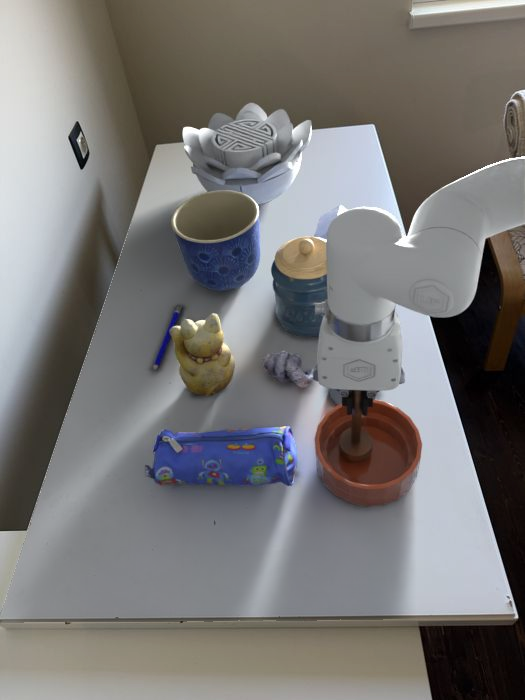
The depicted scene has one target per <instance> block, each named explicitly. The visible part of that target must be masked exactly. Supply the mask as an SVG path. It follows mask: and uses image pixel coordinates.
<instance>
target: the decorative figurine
mask: <svg viewBox="0 0 525 700" xmlns="http://www.w3.org/2000/svg"><path fill="white" fill-rule="evenodd" d="M169 332H170V334H171V336H170V337H171V338H172V341H173V345H174V354H175V358H176V360H177V362H178V364H179V368H178V373H179V376H180V379H181V380H182V382H183V384H184V385H185V386H186V388H187V389H188V391H190V392H191V393H193V394H195V395H199V396H200V395H201V396H206V397H212V396H213V395H214V394H216V393H218V392H220V391H222V390H224V389H225V388H227V386H228V385H229V384H230V382H231V381H232V378H233V375H234V372H235V367H236V364H235V363H236V362H235V358H234V356H233V354H232V352H231V349H230V348H229V346H228V345H227V344H226V343H224V337H225V336H224V332H223V329H222V325H221V320H220V317H219V315H218V314H217V313H214V312H213V313H210V314H209V315H208V316H206V318H205V320H204V319H200V320H197V321H195V322H194V321H193V320H192V319H187V318H186V319H183V320H182V321H181V322H180V325H175V326H173V327H172V328H171V329H170V330H169Z"/></svg>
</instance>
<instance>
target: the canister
mask: <svg viewBox="0 0 525 700" xmlns="http://www.w3.org/2000/svg"><path fill="white" fill-rule="evenodd" d="M270 273H271V276H272V289H273V292H274V298H275V315H276V318H277V321H278V322H279V324H280V326H281V327H282V328H283V330H285V331H287V332H288V333H290V334H292V335H295V336H297V337H304V338H313V337H319V332H320V328H321V323H322V319H323V316H321V314H315V303H322V302H325V299H327V300H328V295H327V258H326V240H325V239H322V238H318V237H314V236H301V237H296V238H294V239H291V240H288V241H286V242H285V243H283V244H282V245H281V246H279V248H278V249H277V250H276V253H275V255H274V260H273V261H272V264H271V267H270Z"/></svg>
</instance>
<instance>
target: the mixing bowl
mask: <svg viewBox="0 0 525 700" xmlns="http://www.w3.org/2000/svg"><path fill="white" fill-rule="evenodd" d="M351 422H352V414H351V415H347V406H342V404H340V405H338V406H337V405H335V407H333V408H332V409H330V410H329V411H328V412H327V413H326V414H325V415H324V416H323V418H322V419H321V420H320V422H319V423H318V424H317V428H316V432H315V434H314V435H315V436H314V450H315V451H314V452H315V463H316V464H315V465H316V471H317V474H318V475H319V477H320V479H321V481H322V482H323V485H324V486H325V487H326V488H327V489H328V490H329V491H330V492H331V493H332V494H333V495H334V496H336V497H337V498H339V499H341V500H342V501H343V500H344V501H345V502H347V503H349V504H353V505H356V506H362V507H377V506H378V507H379V506H384V505H387V504H390V503H393V502H394V501H397V500H399V499H400V498H402V497H403V496H404V495H405V494H406V493H407V492H409V490H411V488H412V486H413V484H414V483H415V480H416V478H417V476H418V474H419V473H418V471H419V468H420V463H421V457H422V449H423V442H422V437H421V434H420V431H419V429H418V427H417V425H416V424H415V422H414V421H413V420H412V418H411V417H410V416H409V415H408V414H406V413H405V412H404V410H403V411H402V409H401V408H399V407H397V406H395V405H393V404H391V403H388V402H386V401H384V400H379V399H376V400H373V407H368V408H367V416H363V415H362V421H361V429H364V430H366V431H367V432H368V433H369V434H370V435H371V437H372V441H373V444H372V453H371V455H370V457H369V458H368V459H366V460H365V461H363V462H358V463H354V462H350V461H347V460H346V459H344V458H343V457H342V455H341V454H340V451H339V437H340V435H341V434H342V432H344V431H345V430H347V429H349V428H351Z"/></svg>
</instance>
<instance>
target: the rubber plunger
mask: <svg viewBox="0 0 525 700" xmlns="http://www.w3.org/2000/svg"><path fill="white" fill-rule="evenodd" d="M352 391H353V402H352V422H351V428H349V429H347V430H345V431H344V432H342V434H341V435H340V437H339V451H340V454H341V455H342V457H343V458H344V459H346V460H347V461H350V462H354V463H358V462H363V461H365V460H366V459H368V458H369V457H370V455H371V453H372V444H373V441H372V437H371V435H370V434H369V433H368V432H367V431H366V430H364V429H361V421H362V395H363V390H352Z"/></svg>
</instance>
